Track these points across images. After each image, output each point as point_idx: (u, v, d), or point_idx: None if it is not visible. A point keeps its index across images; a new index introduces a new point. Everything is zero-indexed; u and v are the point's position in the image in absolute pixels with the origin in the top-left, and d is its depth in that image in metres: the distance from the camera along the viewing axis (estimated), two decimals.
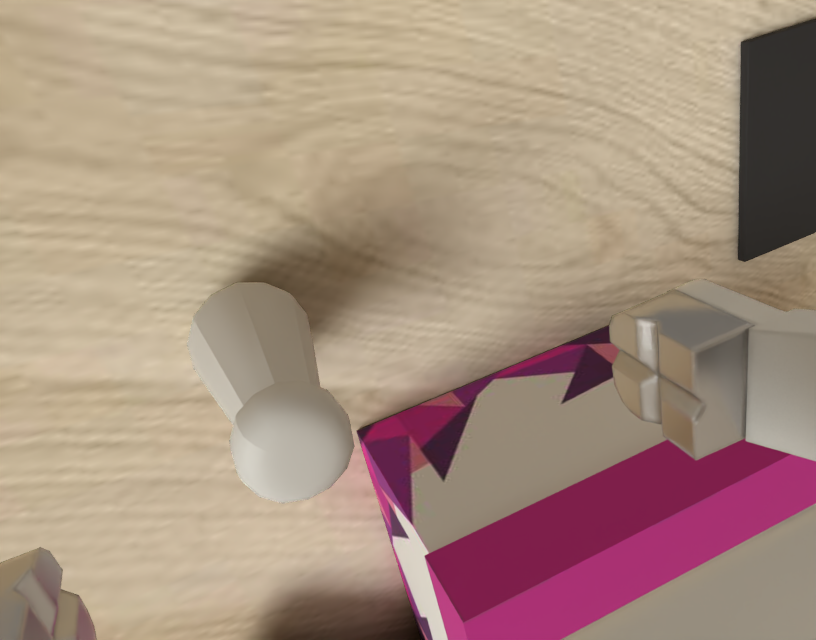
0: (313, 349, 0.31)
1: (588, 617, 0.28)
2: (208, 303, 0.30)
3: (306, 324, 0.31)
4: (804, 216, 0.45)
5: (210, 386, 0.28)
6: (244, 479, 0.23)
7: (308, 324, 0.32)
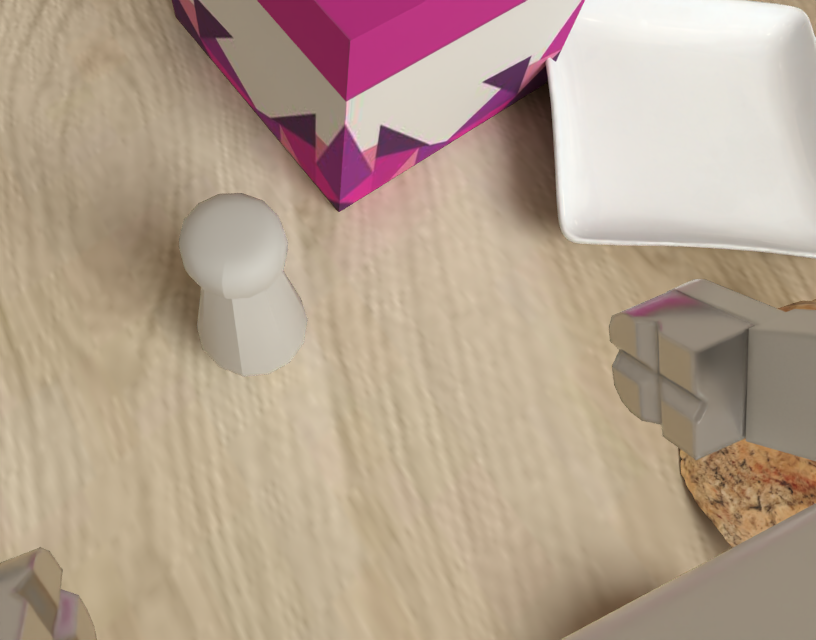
0: None
1: None
2: (224, 366, 0.35)
3: None
4: None
5: (273, 338, 0.33)
6: (261, 271, 0.26)
7: None
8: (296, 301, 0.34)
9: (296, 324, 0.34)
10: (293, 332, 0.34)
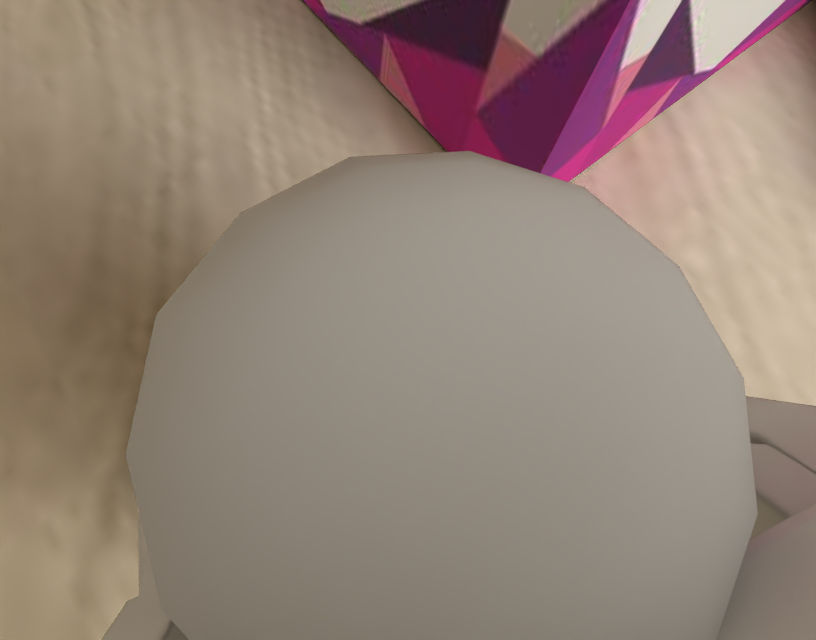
0: None
1: None
2: None
3: None
4: None
5: None
6: None
7: None
8: None
9: None
10: None
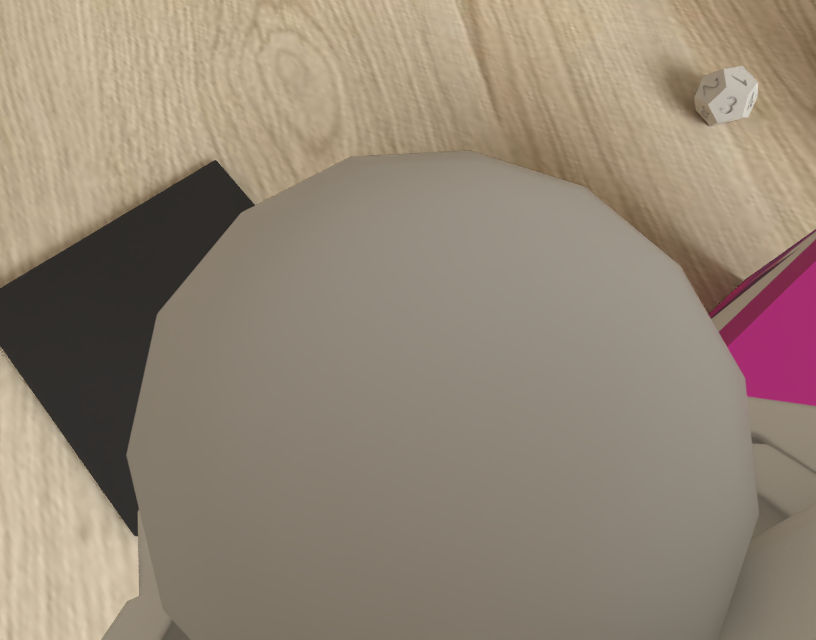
0: None
1: None
2: None
3: None
4: None
5: None
6: None
7: None
8: None
9: None
10: None
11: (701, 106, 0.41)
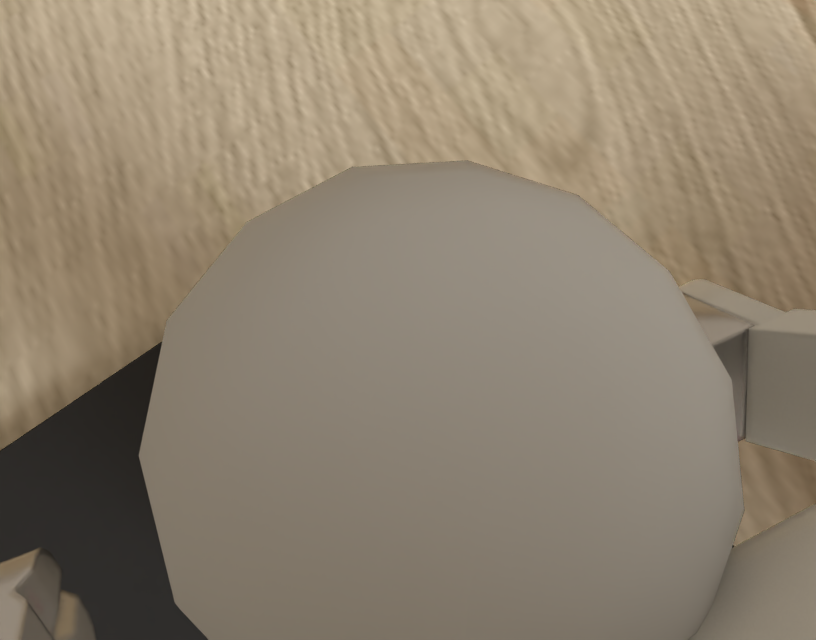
0: None
1: None
2: None
3: None
4: None
5: None
6: None
7: None
8: None
9: None
10: None
11: None
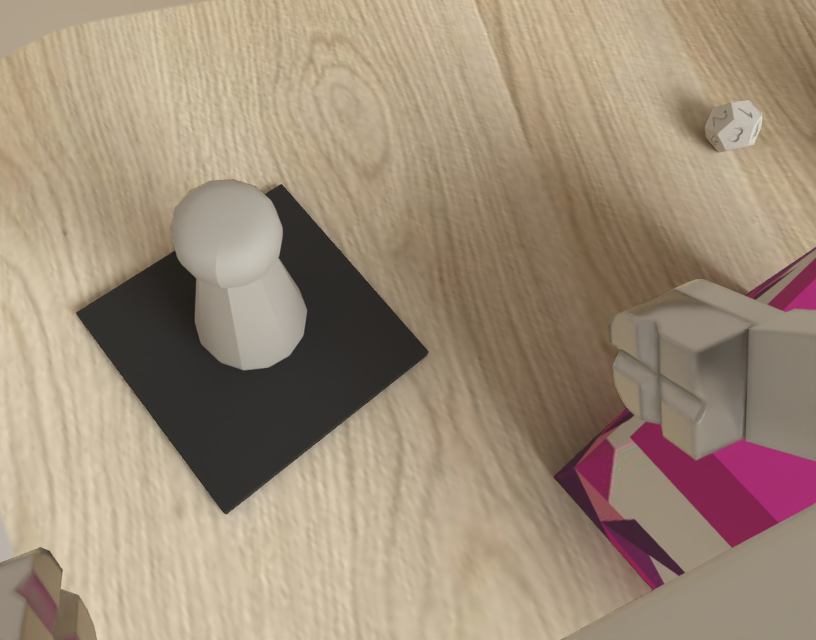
0: None
1: None
2: (223, 360, 0.34)
3: None
4: (351, 303, 0.39)
5: (272, 329, 0.32)
6: (256, 257, 0.26)
7: None
8: (294, 291, 0.33)
9: (295, 315, 0.33)
10: (292, 323, 0.33)
11: (711, 135, 0.46)
